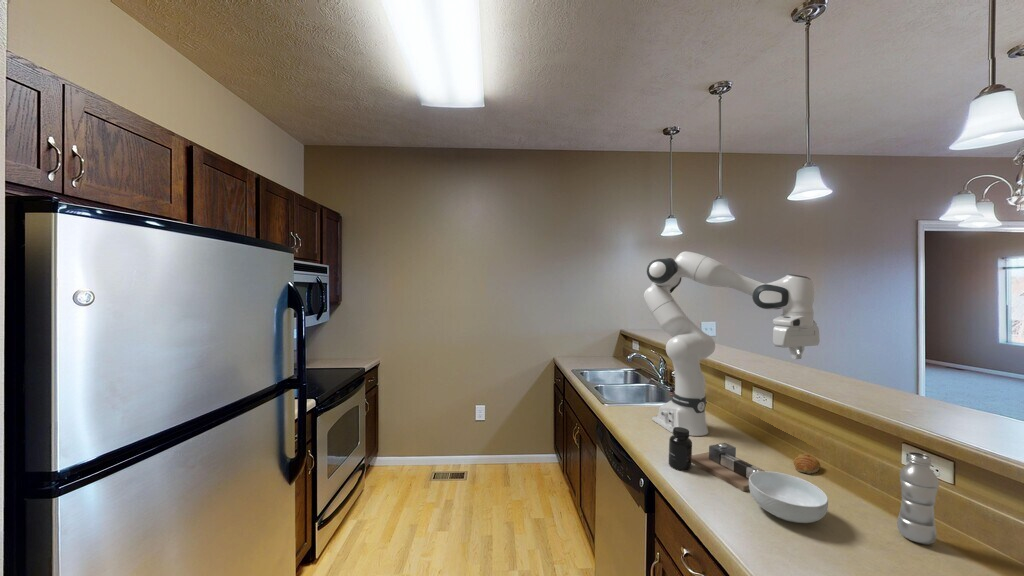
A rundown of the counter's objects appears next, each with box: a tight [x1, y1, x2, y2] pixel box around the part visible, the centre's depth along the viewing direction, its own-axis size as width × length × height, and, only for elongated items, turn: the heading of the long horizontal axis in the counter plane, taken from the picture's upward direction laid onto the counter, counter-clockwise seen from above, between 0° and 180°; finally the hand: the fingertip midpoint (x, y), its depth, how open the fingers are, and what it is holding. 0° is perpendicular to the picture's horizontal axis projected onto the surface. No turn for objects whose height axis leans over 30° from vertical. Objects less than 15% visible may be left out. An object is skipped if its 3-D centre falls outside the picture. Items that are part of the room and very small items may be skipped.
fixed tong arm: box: [721, 455, 757, 479], centre depth 118 cm, size 12×1×3 cm, turn 22°
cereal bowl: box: [749, 470, 829, 524], centre depth 100 cm, size 17×17×7 cm
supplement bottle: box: [668, 427, 693, 471], centre depth 125 cm, size 7×7×12 cm
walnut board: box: [691, 451, 765, 492], centre depth 123 cm, size 20×15×2 cm
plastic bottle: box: [896, 451, 940, 546], centre depth 91 cm, size 6×7×20 cm
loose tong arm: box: [724, 454, 761, 472], centre depth 119 cm, size 12×1×3 cm, turn 22°
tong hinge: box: [708, 442, 737, 465], centre depth 127 cm, size 4×7×5 cm, turn 112°
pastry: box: [793, 453, 822, 475], centre depth 125 cm, size 9×7×4 cm
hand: (796, 358), depth 138 cm, fingers closed
